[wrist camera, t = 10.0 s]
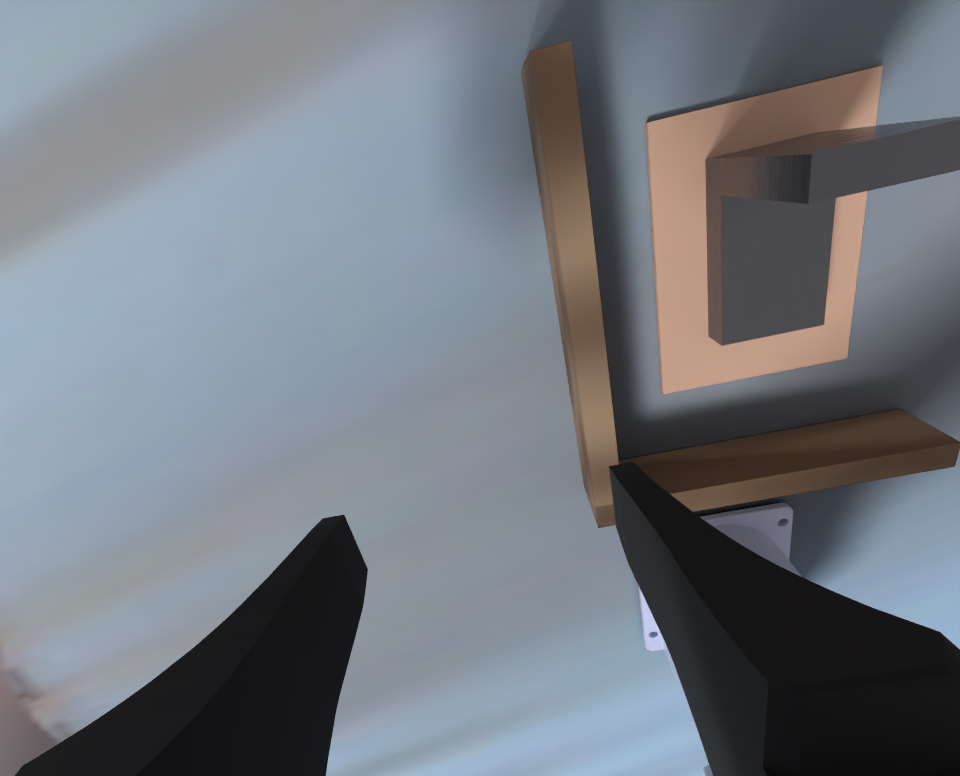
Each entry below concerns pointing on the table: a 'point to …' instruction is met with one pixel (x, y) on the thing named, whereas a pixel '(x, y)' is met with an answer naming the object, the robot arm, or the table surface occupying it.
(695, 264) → the mat
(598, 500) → the corner walls
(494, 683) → the table surface
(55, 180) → the table surface
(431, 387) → the table surface
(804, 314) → the angle bracket
